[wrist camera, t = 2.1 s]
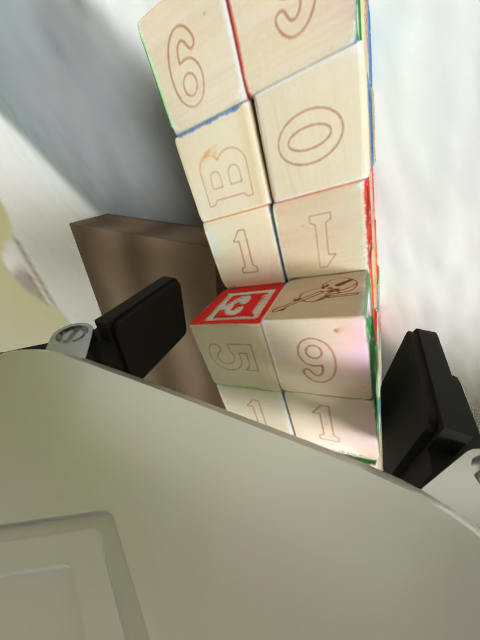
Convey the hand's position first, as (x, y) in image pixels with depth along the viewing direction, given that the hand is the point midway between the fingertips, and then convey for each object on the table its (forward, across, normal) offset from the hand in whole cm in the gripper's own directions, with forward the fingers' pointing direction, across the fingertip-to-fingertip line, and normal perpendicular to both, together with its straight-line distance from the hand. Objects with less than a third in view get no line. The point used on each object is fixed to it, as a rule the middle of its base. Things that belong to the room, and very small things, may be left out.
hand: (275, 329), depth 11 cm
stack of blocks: (+10, -1, 0) cm, 10 cm away
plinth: (+10, +13, +12) cm, 21 cm away
